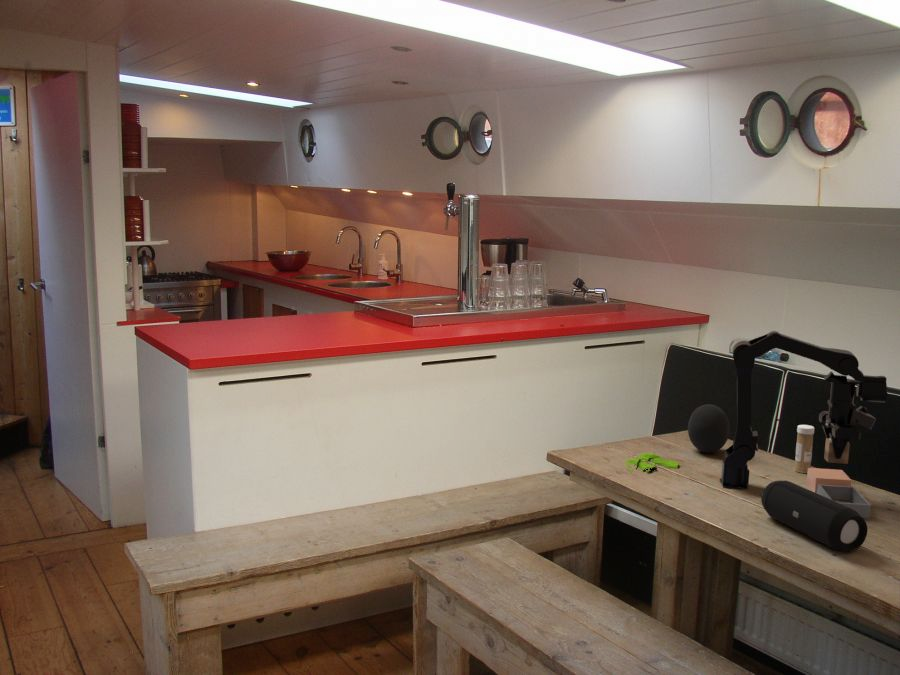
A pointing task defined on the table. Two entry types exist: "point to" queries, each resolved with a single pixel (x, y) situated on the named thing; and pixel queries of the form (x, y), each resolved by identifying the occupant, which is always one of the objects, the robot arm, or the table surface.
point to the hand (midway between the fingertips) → (836, 456)
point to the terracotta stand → (826, 478)
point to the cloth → (655, 460)
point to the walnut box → (830, 455)
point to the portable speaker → (815, 515)
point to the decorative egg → (708, 428)
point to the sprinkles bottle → (804, 448)
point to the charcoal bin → (847, 498)
